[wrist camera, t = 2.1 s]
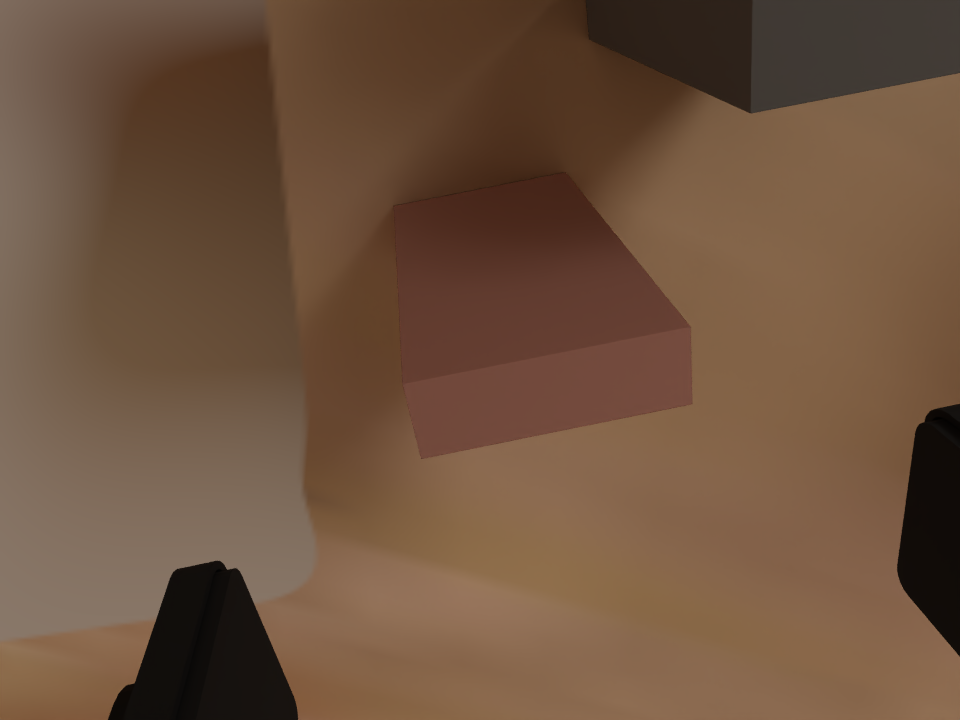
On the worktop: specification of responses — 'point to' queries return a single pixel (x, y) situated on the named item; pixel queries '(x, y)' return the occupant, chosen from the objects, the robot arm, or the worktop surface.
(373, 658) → the worktop surface
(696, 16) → the domino
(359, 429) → the worktop surface
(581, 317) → the domino
